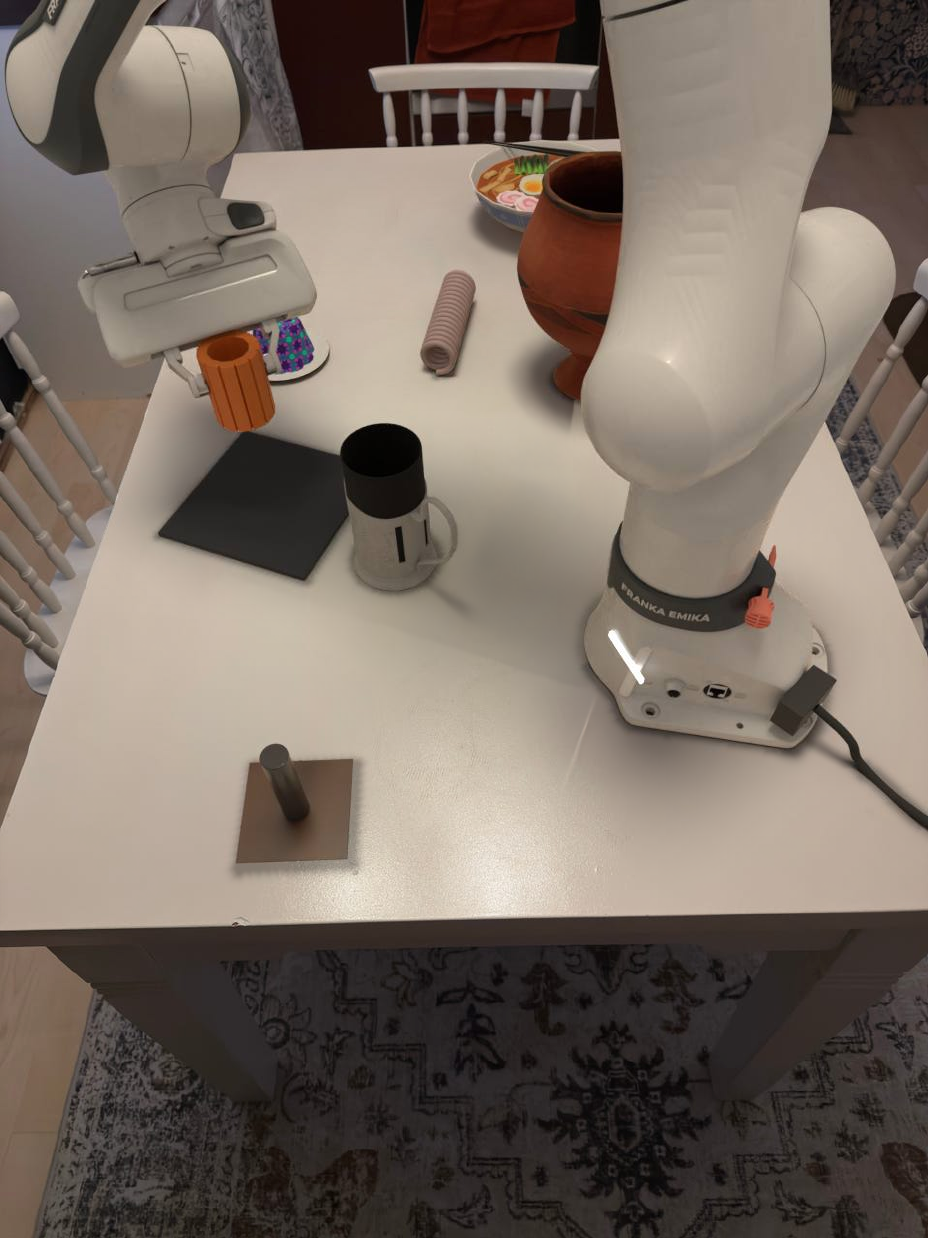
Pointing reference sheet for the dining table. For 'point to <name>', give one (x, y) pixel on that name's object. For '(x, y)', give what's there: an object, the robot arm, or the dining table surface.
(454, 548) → the glass holder
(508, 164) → the ramen bowl
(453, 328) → the coil
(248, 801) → the stake stand
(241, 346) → the orange grooved hollow cylinder
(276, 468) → the mat
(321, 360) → the pudding
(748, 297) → the robot arm
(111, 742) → the dining table surface
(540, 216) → the goblet
